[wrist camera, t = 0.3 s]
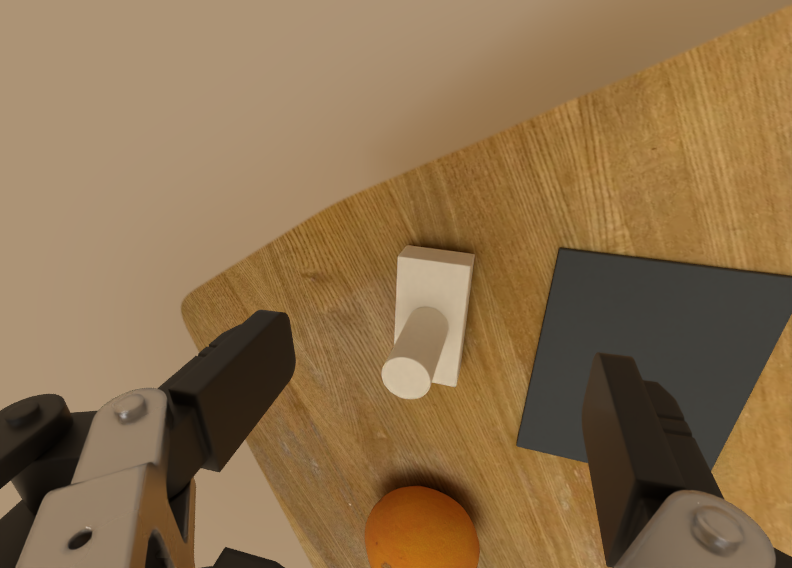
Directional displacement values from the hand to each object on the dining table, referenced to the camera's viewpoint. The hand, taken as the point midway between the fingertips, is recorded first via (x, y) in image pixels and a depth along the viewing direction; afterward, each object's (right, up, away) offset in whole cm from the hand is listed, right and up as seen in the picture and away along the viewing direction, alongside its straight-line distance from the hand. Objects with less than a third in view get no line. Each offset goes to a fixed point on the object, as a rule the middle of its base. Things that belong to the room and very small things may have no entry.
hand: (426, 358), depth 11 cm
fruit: (+3, -21, +31) cm, 38 cm away
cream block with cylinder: (+2, 0, +22) cm, 22 cm away
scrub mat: (+17, -5, +19) cm, 26 cm away
